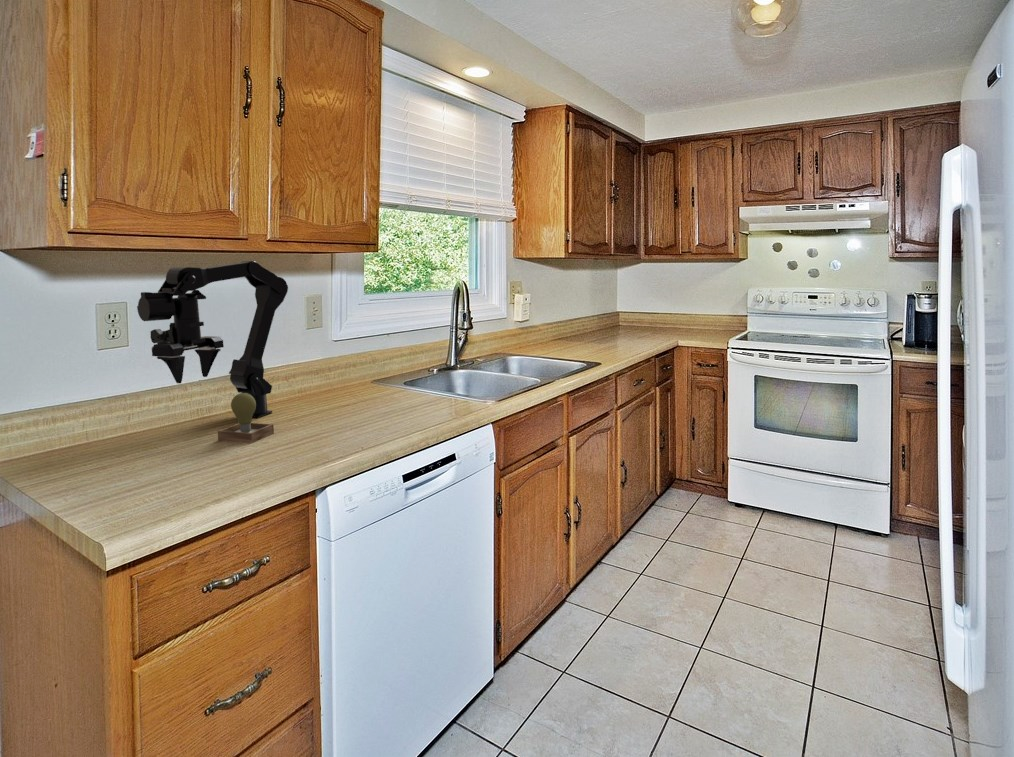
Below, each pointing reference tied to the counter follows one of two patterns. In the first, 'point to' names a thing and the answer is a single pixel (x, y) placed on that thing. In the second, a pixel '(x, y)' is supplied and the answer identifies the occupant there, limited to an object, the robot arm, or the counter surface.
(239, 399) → the light bulb
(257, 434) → the tray
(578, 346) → the counter surface
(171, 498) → the counter surface
